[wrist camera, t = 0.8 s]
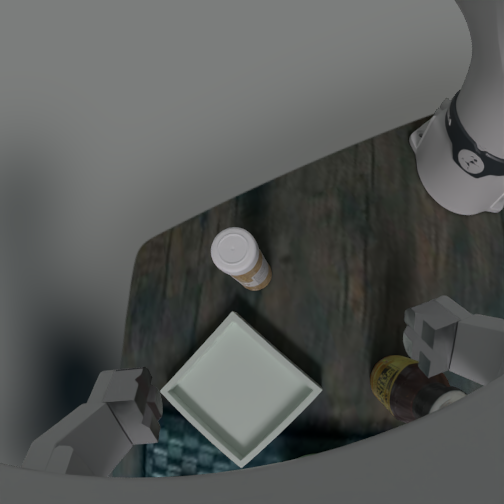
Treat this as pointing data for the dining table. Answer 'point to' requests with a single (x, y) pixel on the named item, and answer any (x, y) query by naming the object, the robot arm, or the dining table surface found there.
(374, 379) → the sauce bottle
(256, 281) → the sprinkles bottle
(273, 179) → the dining table surface
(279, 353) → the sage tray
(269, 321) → the dining table surface
